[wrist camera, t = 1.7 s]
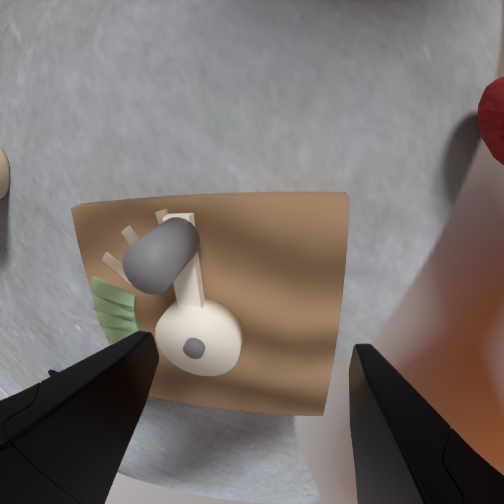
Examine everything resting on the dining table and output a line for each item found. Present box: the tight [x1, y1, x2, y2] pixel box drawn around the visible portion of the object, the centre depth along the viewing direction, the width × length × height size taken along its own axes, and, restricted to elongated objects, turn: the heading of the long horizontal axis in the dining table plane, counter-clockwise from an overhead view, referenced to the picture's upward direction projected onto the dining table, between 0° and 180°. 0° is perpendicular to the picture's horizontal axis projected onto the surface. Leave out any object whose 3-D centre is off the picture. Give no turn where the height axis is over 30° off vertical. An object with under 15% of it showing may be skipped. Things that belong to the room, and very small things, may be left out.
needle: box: [122, 213, 243, 376], centre depth 17 cm, size 12×6×5 cm, turn 3°
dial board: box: [71, 192, 349, 416], centre depth 21 cm, size 19×19×2 cm
